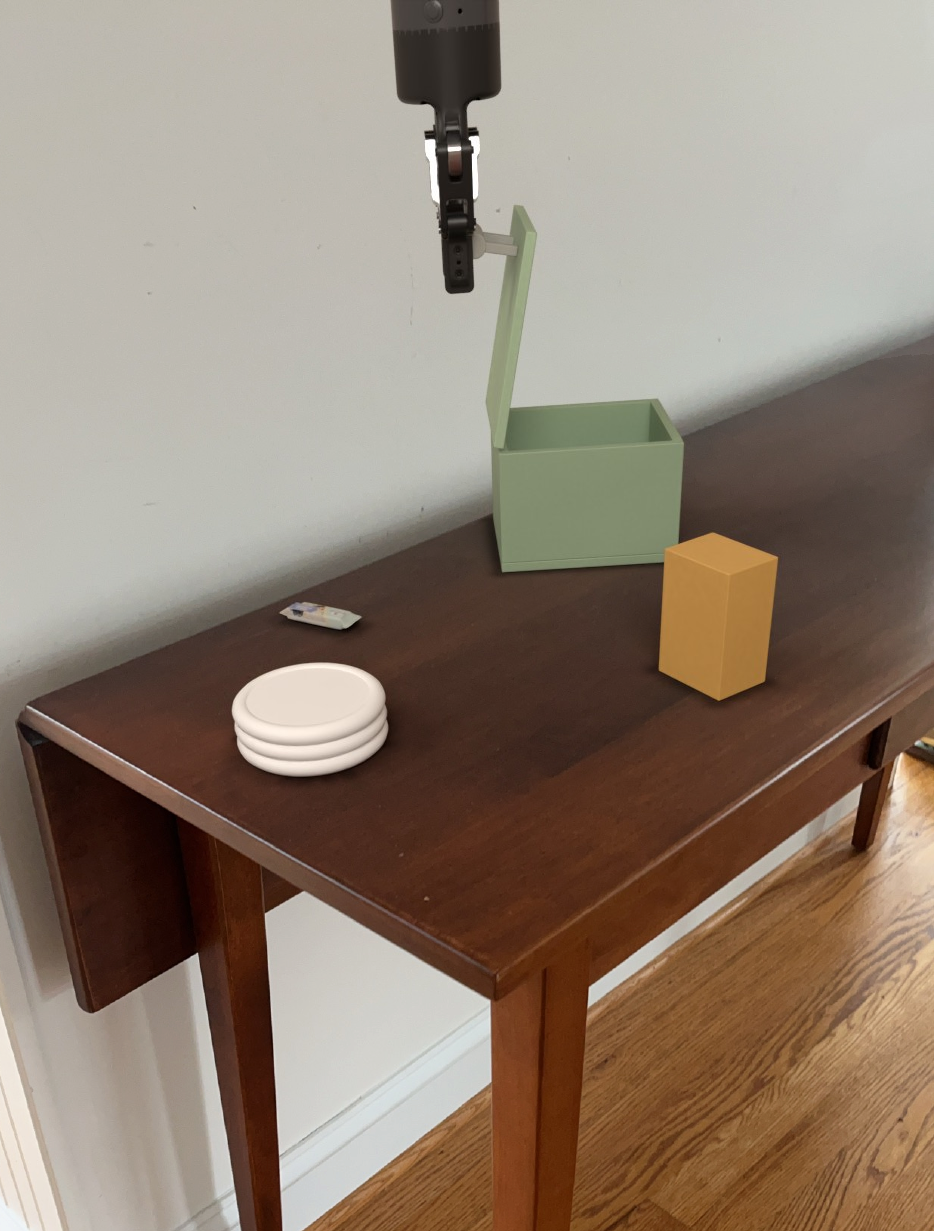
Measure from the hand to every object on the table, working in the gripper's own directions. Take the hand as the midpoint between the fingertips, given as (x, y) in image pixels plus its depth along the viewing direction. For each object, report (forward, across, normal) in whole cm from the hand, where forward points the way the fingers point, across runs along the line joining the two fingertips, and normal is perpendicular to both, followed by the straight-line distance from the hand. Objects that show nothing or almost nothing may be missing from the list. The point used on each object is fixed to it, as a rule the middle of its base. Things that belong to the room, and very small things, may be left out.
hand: (458, 283), depth 98 cm
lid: (+3, 0, -4) cm, 5 cm away
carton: (+21, -27, -16) cm, 38 cm away
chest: (+21, 0, -10) cm, 23 cm away
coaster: (+21, -33, +12) cm, 41 cm away
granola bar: (+21, -14, +12) cm, 28 cm away
